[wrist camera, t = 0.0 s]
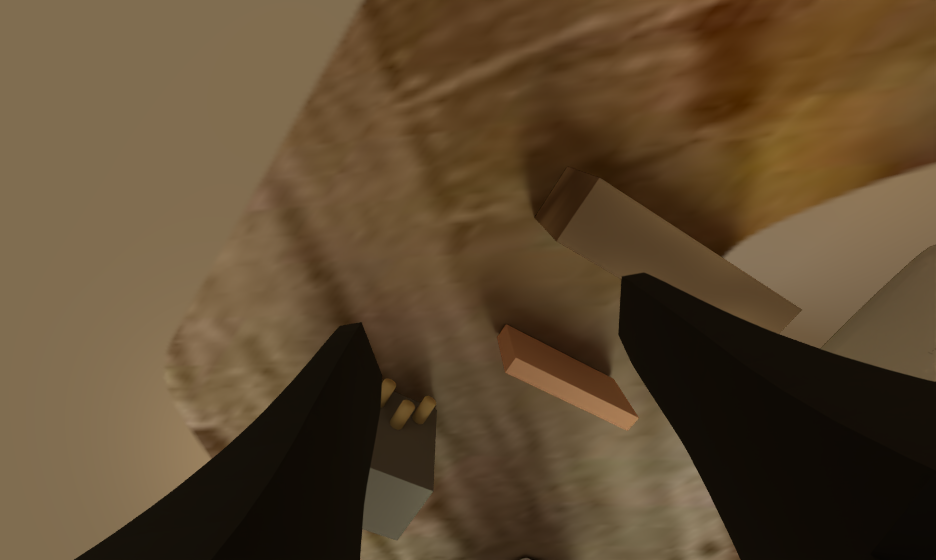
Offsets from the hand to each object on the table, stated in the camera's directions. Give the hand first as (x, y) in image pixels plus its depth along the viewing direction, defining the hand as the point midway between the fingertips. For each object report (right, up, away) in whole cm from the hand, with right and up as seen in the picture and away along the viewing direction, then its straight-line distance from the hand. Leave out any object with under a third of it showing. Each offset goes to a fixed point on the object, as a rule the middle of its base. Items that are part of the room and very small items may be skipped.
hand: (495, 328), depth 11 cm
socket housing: (+9, +3, +11) cm, 14 cm away
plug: (-6, -7, +14) cm, 17 cm away
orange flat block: (+5, -3, +13) cm, 14 cm away
